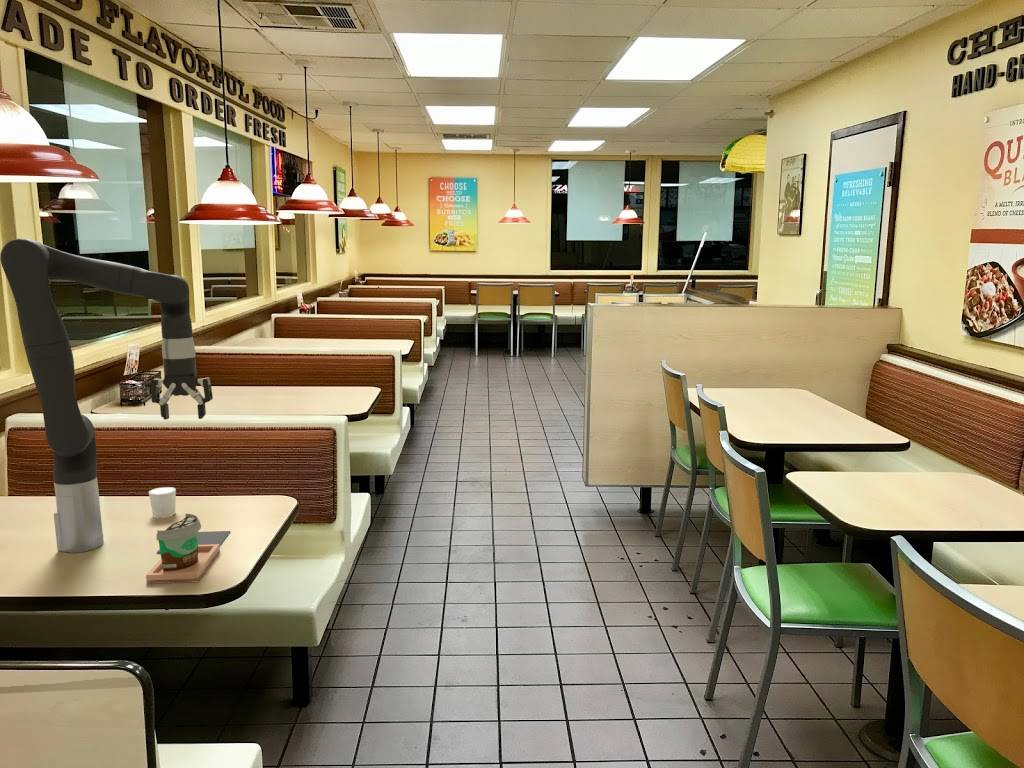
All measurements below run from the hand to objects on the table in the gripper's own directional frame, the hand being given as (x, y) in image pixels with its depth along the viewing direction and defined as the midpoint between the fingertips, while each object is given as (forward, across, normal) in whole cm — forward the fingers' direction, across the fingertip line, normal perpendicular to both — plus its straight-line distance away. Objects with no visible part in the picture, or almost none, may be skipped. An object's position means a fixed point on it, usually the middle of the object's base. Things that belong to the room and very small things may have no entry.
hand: (183, 418), depth 196 cm
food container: (+30, +6, -23) cm, 38 cm away
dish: (+30, +6, -24) cm, 39 cm away
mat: (+30, +3, -8) cm, 31 cm away
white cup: (+30, -12, +14) cm, 35 cm away
